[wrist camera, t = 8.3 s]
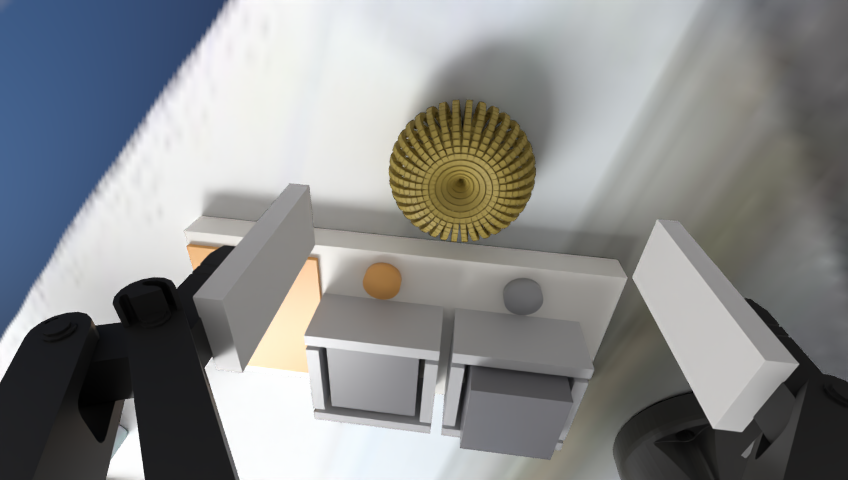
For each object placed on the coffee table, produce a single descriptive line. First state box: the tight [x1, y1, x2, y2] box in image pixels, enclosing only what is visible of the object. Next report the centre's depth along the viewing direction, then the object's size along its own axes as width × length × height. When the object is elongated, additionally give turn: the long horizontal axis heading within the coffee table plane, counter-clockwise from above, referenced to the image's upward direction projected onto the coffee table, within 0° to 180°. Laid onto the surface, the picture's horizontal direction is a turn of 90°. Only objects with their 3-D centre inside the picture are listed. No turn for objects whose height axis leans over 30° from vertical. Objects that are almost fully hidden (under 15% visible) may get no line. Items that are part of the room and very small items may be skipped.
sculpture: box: [389, 100, 536, 242], centre depth 23 cm, size 8×4×8 cm
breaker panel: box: [184, 216, 627, 450], centre depth 28 cm, size 28×13×6 cm, turn 87°
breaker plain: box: [460, 365, 573, 460], centre depth 26 cm, size 6×6×4 cm
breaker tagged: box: [327, 348, 421, 416], centre depth 28 cm, size 6×6×4 cm
